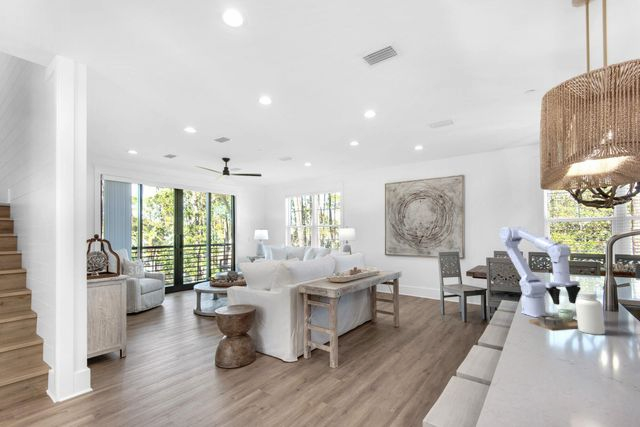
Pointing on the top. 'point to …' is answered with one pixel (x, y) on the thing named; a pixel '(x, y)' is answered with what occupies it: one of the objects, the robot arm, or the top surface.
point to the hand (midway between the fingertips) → (564, 303)
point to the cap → (566, 314)
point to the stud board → (565, 325)
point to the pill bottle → (589, 314)
